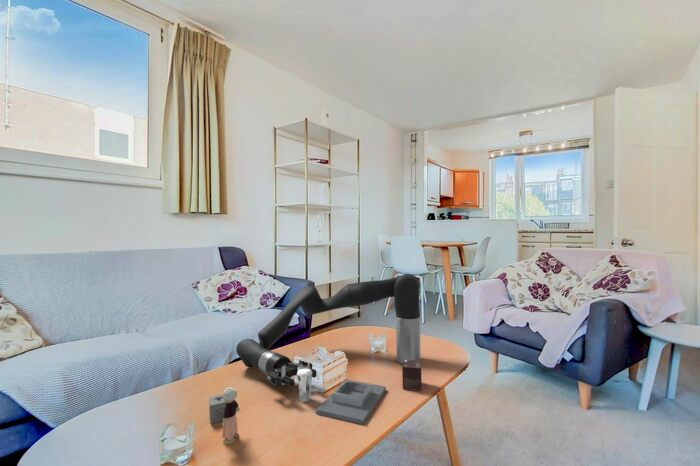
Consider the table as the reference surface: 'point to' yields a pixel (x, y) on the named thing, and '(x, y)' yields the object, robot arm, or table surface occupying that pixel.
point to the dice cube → (216, 408)
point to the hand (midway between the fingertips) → (304, 378)
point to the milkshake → (304, 384)
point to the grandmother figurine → (230, 416)
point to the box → (411, 375)
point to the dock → (352, 401)
